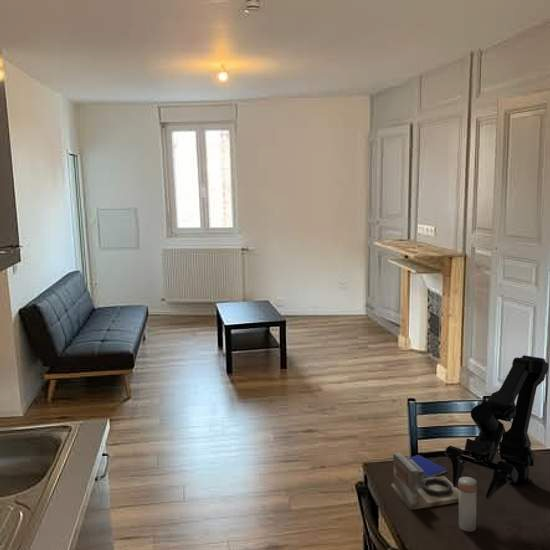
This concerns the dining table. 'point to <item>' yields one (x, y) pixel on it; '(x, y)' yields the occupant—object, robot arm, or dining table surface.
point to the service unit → (420, 485)
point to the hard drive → (428, 466)
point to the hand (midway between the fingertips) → (470, 492)
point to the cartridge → (467, 503)
